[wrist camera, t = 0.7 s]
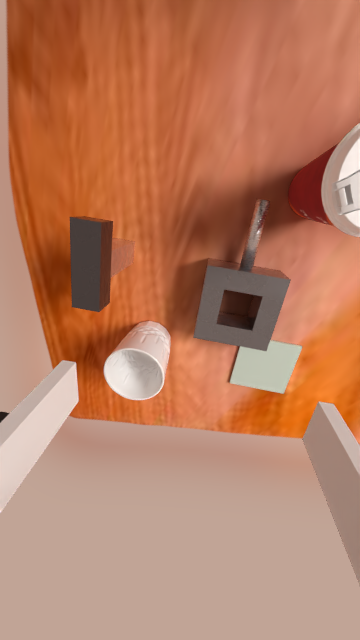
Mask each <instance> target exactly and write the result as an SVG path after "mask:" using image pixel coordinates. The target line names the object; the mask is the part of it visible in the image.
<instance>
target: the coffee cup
mask: <svg viewBox="0 0 360 640" xmlns="http://www.w3.org/2000/svg"><path fill="white" fill-rule="evenodd" d="M288 200H289V204H290V206H291V208H292V210H293V211H294V212H295V213H296V214H298V215H299V216H301V217H304V218H307V219H310V220H313V221H317V222H321V223H324V224H328V225H332V226H335V227H337V228H338V229H339V230H341V231H342V232H344V233H346V234H349V235H352V236H355V237H360V123H359V124H358V125H356V126H355V127H354V128H353V129H352V130H351V131H350V132H349V133H348V134H346V135H345V137H344V138H343V139H342V140H341V141H340V143H338V144H337V145H335V146H334V147H332V148H331V149H329V150H328V151H326V152H325V153H324V154H322V155H321V156H319V157H318V158H316V159H315V160H313V161H312V162H311V163H309V164H308V165H307V166H305V167H304V168H303V169H301V170H300V171H299V172H298V173H297V174H296V176H295V177H294V179H293V180H292V182H291V184H290V187H289V192H288Z"/></svg>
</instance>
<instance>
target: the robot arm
mask: <svg viewBox="0 0 360 640" xmlns="http://www.w3.org/2000/svg"><path fill="white" fill-rule="evenodd" d="M78 401H79V400H78V386H77V371H76V362H71V361H64V360H62V361H61V362H60V363H59V364H58V365H57V366H56V367H55V368H54V369H53V370H52V371H51V372H50V373H49V375H47V376H46V377H45V378H44V379H43V380H42V381H41V382H40V383H39V384H38V386H36V387H35V389H33V390H32V391H31V392H30V393H29V394H28V395H27V396H26V398H25V399H24V400H22V401H21V402H20V404H19V405H18V406H16V407H15V408H14V410H13V411H11V413H6V412H0V513H1V511H2V510H3V509H4V507H5V506H6V504H7V503H8V501H9V500H10V499H11V497H12V496H13V494H14V493H15V491H16V490H17V489H18V487H19V485H20V484H21V483H22V481H23V480H24V478H25V477H26V476H27V474H28V473H29V471H30V470H31V469H32V467H33V466H34V464H35V463H36V461H37V460H38V459H39V457H40V455H41V454H42V453H43V451H44V450H45V448H46V447H47V446H48V444H49V443H50V441H51V440H52V438H53V437H54V436H55V434H56V433H57V431H58V430H59V428H60V427H61V425H62V424H63V423H64V421H65V420H66V418H67V417H68V416H69V414H70V413H71V411H72V410H73V408H74V407H75V406H76V404H77V403H78ZM302 440H303V442H304V445H305V447H306V449H307V452H308V455H309V458H310V460H311V463H312V465H313V468H314V470H315V473H316V475H317V478H318V480H319V483H320V486H321V488H322V491H323V493H324V496H325V498H326V501H327V503H328V506H329V508H330V511H331V513H332V516H333V519H334V521H335V523H336V526H337V529H338V531H339V534H340V536H341V539H342V541H343V543H344V546H345V549H346V551H347V554H348V557H349V559H350V562H351V564H352V567H353V569H354V572H355V574H356V577H357V580H358V582H359V584H360V445H359V444H358V442H357V441H356V439H355V437H354V436H353V434H352V433H351V431H350V429H349V428H348V426H347V425H346V423H345V421H344V420H343V418H342V417H341V415H340V413H339V412H338V410H337V409H336V407H335V406H334V404H331V403H325V402H318V404H317V406H316V408H315V411H314V413H313V415H312V418H311V420H310V423H309V425H308V427H307V430H306V432H305V434H304V437H303V439H302Z"/></svg>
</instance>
